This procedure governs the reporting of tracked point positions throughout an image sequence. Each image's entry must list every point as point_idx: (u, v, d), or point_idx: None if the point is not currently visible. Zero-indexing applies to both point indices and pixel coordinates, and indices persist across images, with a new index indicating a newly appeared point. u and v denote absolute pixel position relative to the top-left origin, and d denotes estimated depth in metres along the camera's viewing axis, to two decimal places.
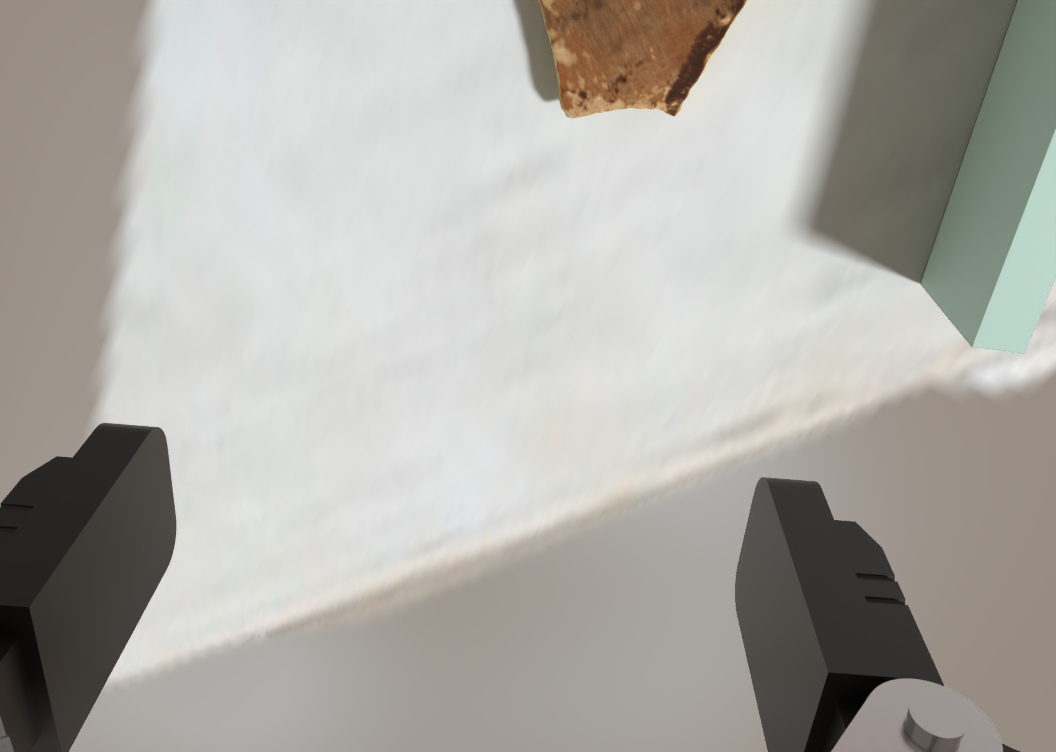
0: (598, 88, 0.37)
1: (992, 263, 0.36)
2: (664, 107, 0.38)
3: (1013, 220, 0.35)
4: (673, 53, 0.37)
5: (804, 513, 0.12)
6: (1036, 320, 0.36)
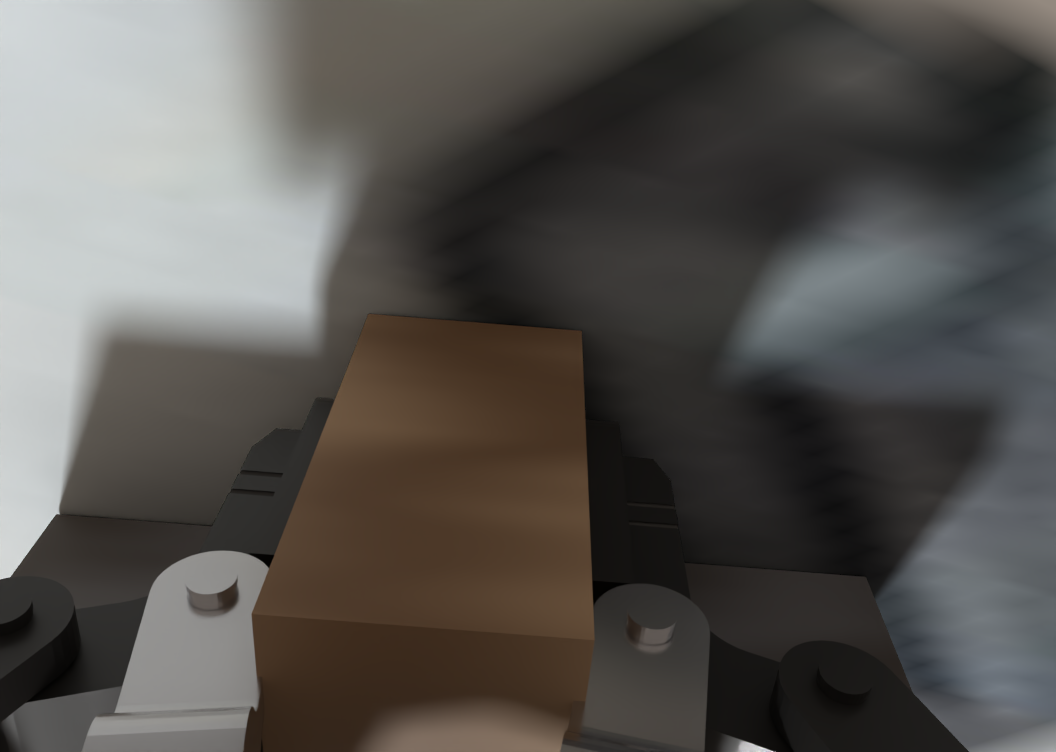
0: None
1: None
2: None
3: None
4: None
5: (595, 448, 0.13)
6: None
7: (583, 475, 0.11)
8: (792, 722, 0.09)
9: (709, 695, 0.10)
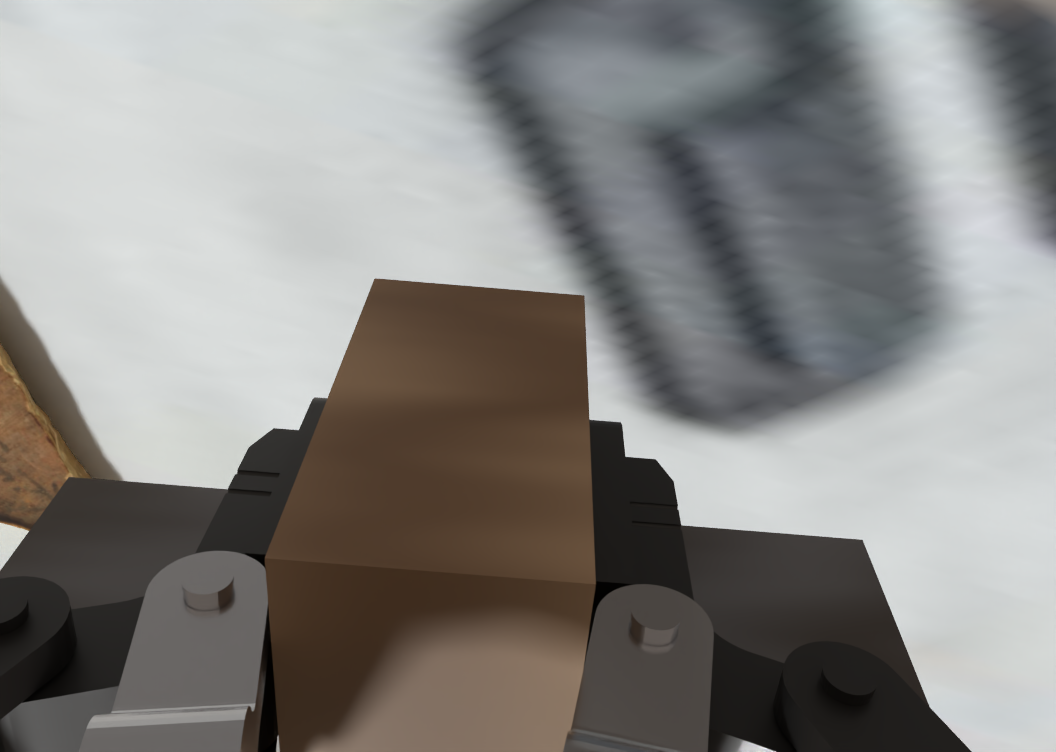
0: None
1: None
2: None
3: None
4: None
5: (598, 448, 0.13)
6: None
7: (585, 431, 0.11)
8: (796, 722, 0.09)
9: (712, 696, 0.10)
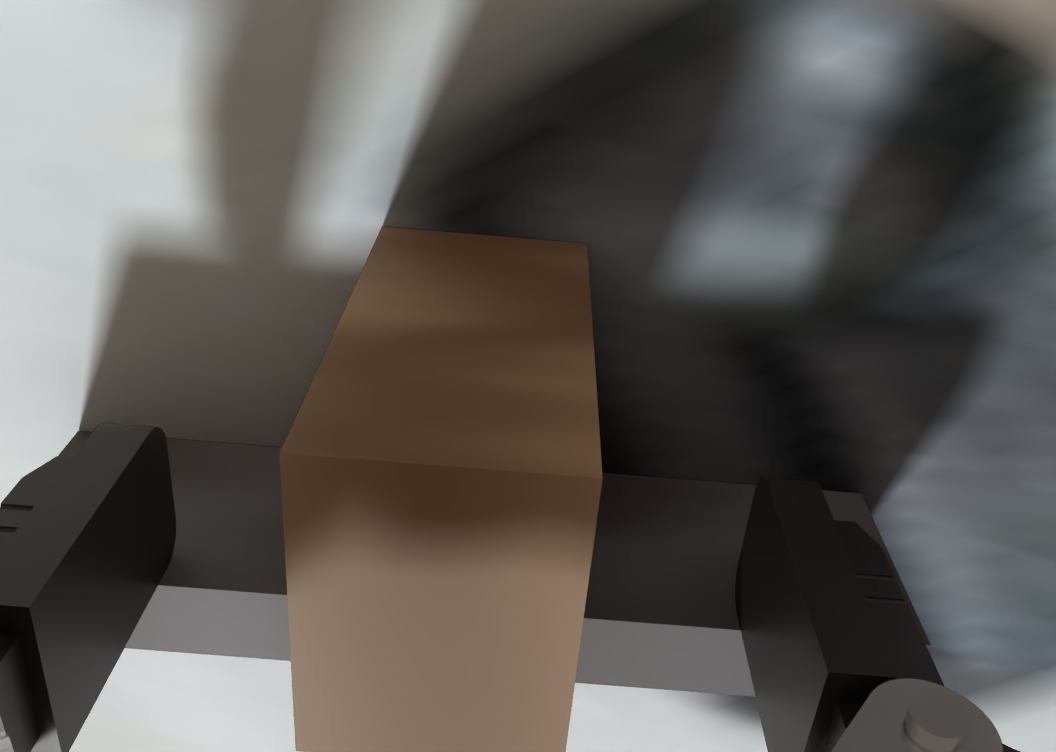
0: None
1: None
2: None
3: None
4: None
5: (804, 513, 0.12)
6: None
7: (590, 354, 0.11)
8: None
9: None
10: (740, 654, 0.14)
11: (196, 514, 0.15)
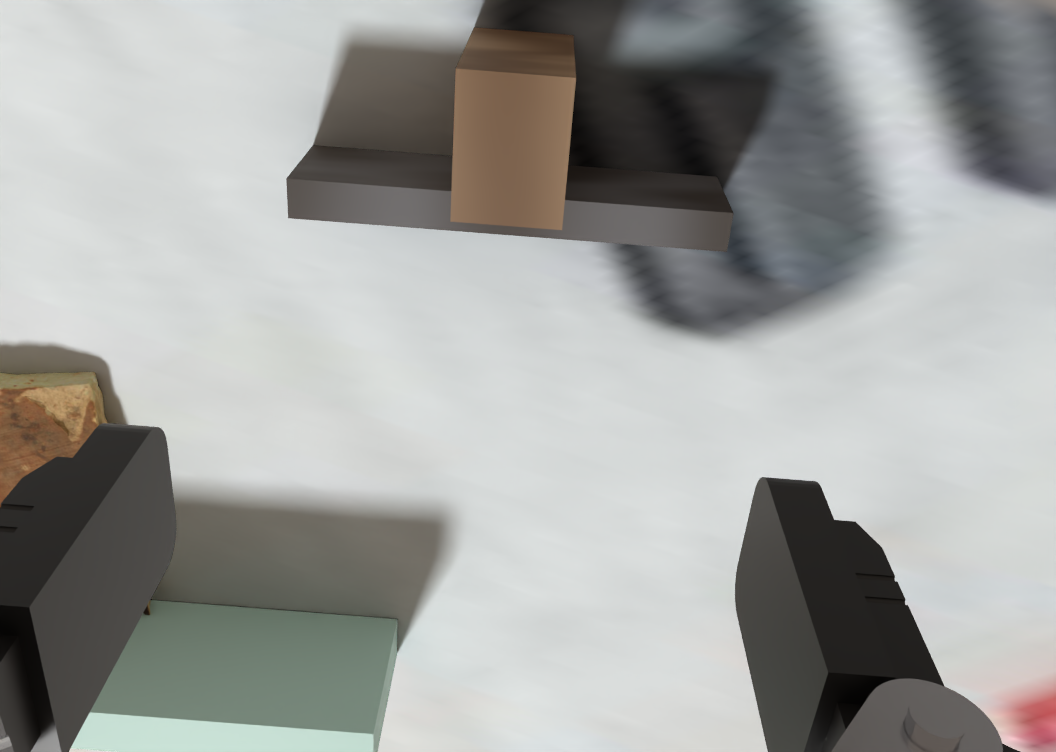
0: None
1: None
2: None
3: None
4: None
5: (804, 513, 0.12)
6: None
7: (573, 58, 0.27)
8: None
9: None
10: (645, 220, 0.29)
11: (383, 169, 0.30)
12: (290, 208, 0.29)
